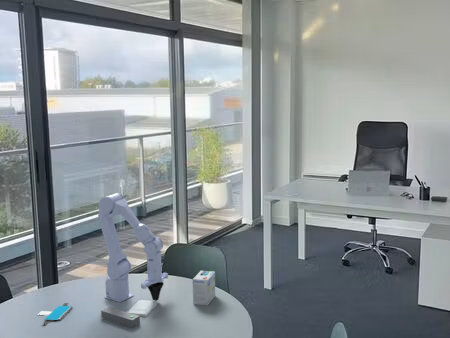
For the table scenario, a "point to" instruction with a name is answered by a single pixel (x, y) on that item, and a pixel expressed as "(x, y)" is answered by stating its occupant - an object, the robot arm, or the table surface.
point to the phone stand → (56, 313)
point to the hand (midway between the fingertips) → (155, 299)
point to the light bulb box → (204, 287)
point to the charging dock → (120, 317)
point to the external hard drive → (143, 307)
